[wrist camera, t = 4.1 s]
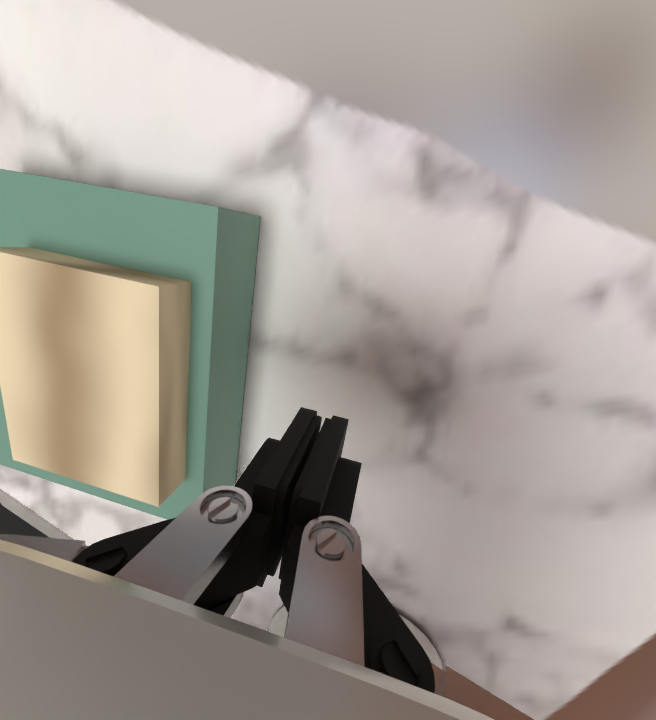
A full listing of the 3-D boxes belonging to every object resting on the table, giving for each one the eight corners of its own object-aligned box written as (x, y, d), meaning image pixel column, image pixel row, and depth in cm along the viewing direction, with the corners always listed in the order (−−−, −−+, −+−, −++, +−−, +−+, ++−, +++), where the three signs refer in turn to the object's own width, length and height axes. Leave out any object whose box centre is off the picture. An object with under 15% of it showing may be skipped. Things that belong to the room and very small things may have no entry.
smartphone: (70, 616, 29) (-74, 518, 30) (84, 601, 31) (-54, 507, 31) (94, 568, 27) (-65, 460, 27) (108, 553, 28) (-44, 450, 28)
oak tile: (191, 281, 14) (158, 286, 12) (185, 479, 17) (158, 506, 16) (28, 247, 15) (-24, 246, 13) (52, 438, 19) (12, 459, 17)
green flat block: (260, 216, 17) (218, 206, 13) (235, 483, 22) (200, 530, 18) (20, 174, 19) (-76, 155, 15) (51, 427, 24) (-14, 459, 20)
